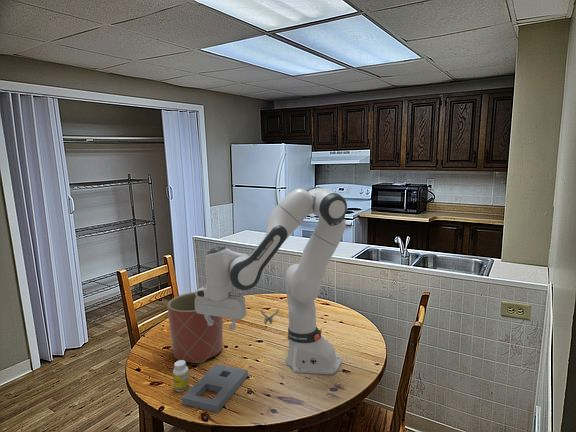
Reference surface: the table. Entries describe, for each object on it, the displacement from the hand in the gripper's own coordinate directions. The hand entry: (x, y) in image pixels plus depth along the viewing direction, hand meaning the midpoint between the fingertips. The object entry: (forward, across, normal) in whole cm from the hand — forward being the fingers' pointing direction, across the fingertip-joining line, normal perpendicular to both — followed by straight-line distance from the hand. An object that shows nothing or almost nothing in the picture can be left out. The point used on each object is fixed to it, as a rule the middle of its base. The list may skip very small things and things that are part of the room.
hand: (221, 326), depth 135 cm
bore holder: (+21, 0, +6) cm, 22 cm away
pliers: (+22, +7, -59) cm, 63 cm away
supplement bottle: (+21, +12, +9) cm, 27 cm away
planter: (+21, +22, -14) cm, 34 cm away
